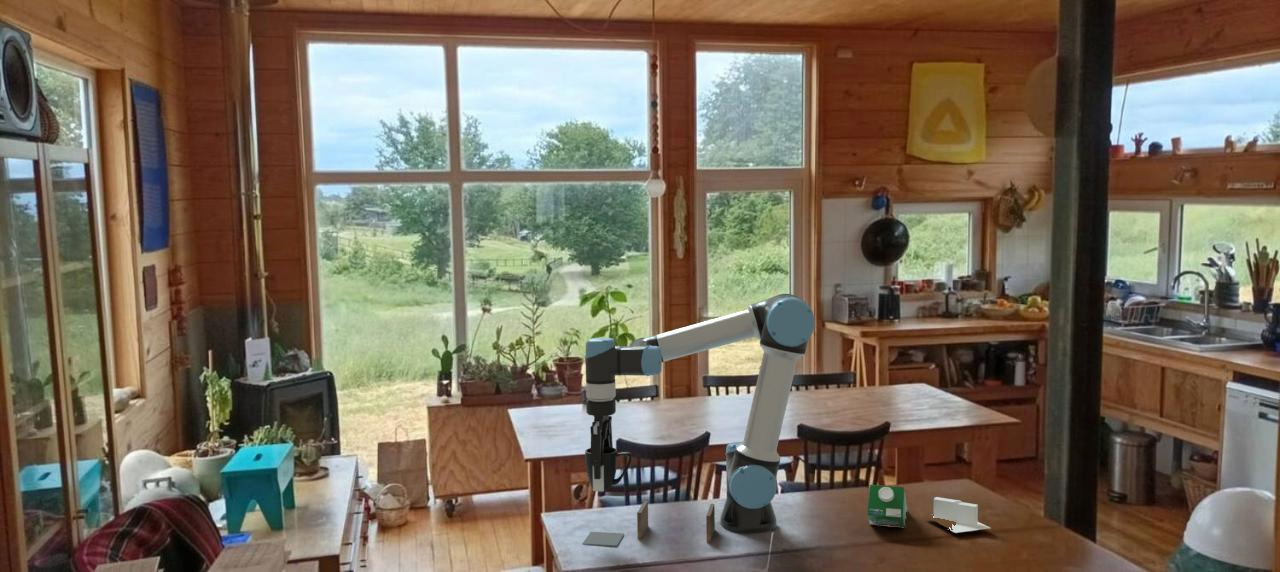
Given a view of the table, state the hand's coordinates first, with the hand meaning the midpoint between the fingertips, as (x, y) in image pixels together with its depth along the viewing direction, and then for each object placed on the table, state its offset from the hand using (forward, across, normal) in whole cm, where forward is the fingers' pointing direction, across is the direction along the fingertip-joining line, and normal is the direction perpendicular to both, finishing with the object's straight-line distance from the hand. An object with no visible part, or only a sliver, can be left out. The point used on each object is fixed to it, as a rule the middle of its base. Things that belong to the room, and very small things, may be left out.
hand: (602, 485), depth 235 cm
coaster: (+14, 0, 0) cm, 14 cm away
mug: (0, 0, +2) cm, 2 cm away
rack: (+14, -8, +18) cm, 24 cm away
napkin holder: (+15, -30, +92) cm, 97 cm away
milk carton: (+20, -41, +75) cm, 88 cm away
